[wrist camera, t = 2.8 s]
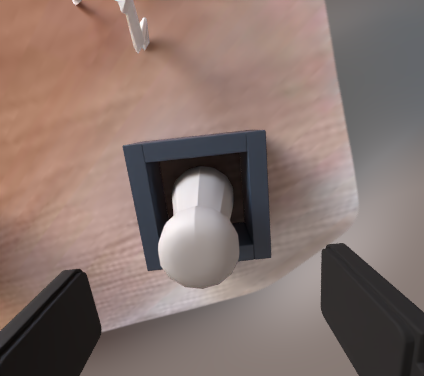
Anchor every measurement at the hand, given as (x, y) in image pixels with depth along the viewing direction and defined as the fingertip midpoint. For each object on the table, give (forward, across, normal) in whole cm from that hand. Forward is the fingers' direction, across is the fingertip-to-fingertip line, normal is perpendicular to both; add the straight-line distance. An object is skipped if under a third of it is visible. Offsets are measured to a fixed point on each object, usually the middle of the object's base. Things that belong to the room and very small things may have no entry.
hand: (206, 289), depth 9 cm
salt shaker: (+15, +1, 0) cm, 15 cm away
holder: (+15, +1, 0) cm, 15 cm away
